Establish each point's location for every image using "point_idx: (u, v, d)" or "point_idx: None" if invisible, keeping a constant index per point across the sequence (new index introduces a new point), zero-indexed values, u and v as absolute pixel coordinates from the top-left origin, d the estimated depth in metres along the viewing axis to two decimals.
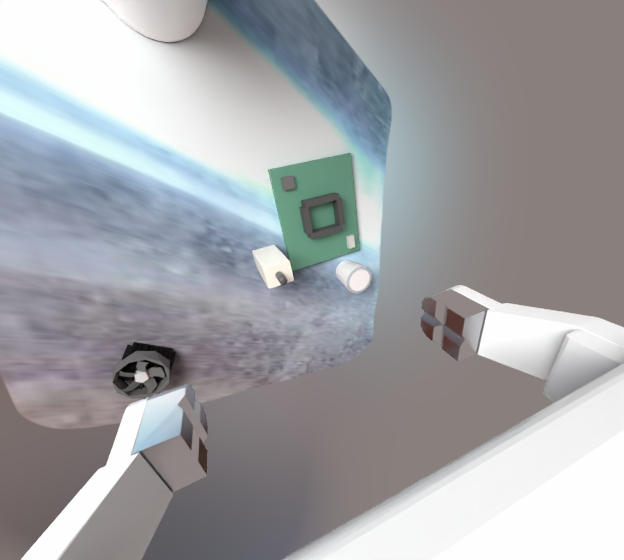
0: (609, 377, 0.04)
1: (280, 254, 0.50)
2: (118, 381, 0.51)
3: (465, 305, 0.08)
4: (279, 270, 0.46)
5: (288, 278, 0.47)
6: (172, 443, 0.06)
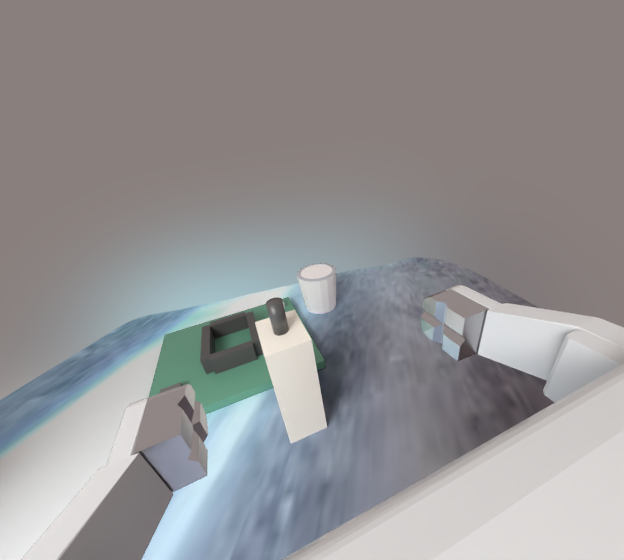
0: (609, 377, 0.04)
1: None
2: None
3: (466, 305, 0.08)
4: (271, 331, 0.22)
5: (289, 316, 0.24)
6: (172, 443, 0.06)
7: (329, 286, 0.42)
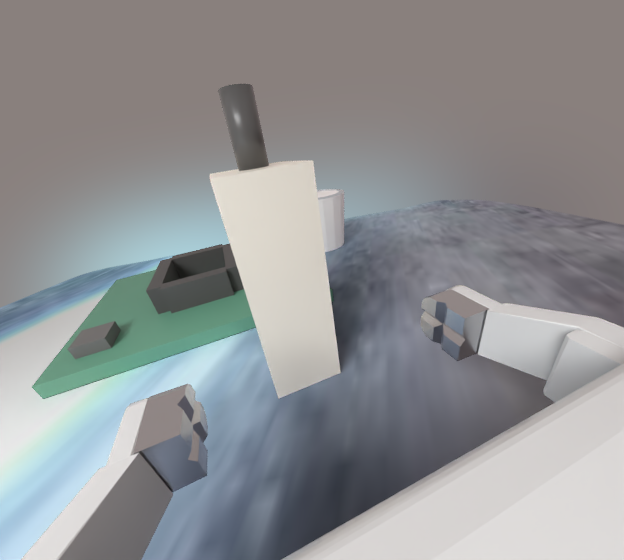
0: (609, 377, 0.04)
1: None
2: None
3: (466, 305, 0.08)
4: (235, 171, 0.12)
5: (272, 163, 0.13)
6: (172, 443, 0.06)
7: (335, 210, 0.31)
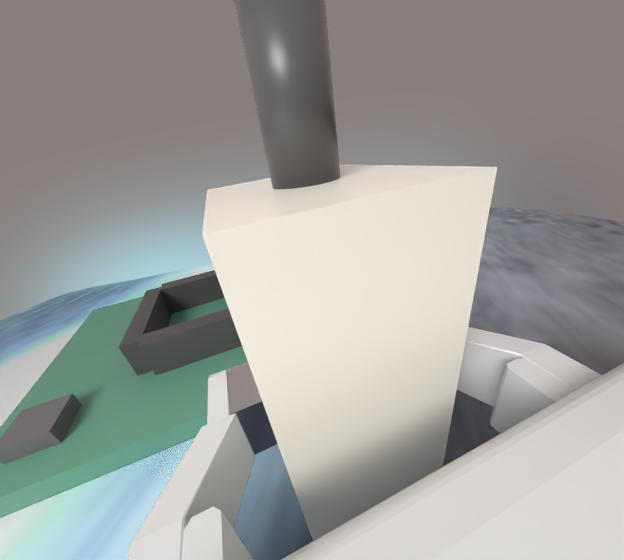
0: (609, 377, 0.04)
1: None
2: None
3: None
4: (263, 188, 0.05)
5: None
6: (261, 406, 0.06)
7: None
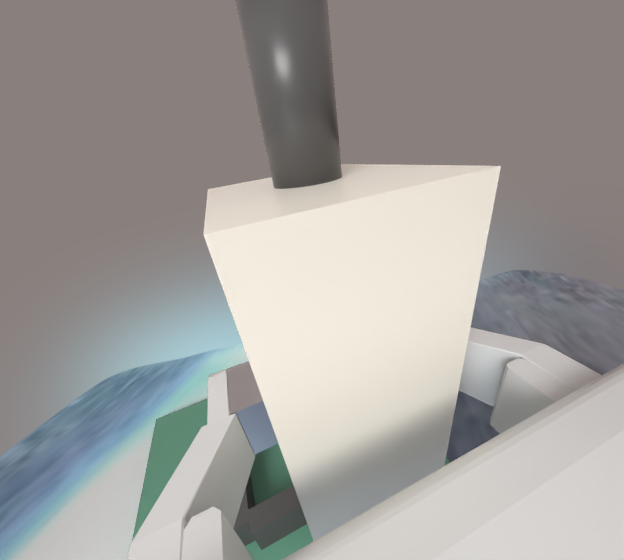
0: (609, 377, 0.04)
1: None
2: None
3: None
4: (264, 187, 0.05)
5: None
6: (261, 406, 0.06)
7: None
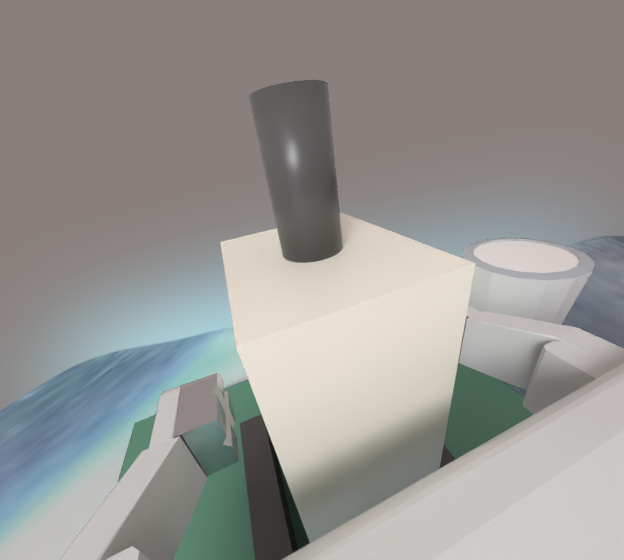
0: (609, 377, 0.04)
1: None
2: None
3: None
4: (274, 255, 0.06)
5: None
6: (210, 428, 0.06)
7: (578, 293, 0.15)
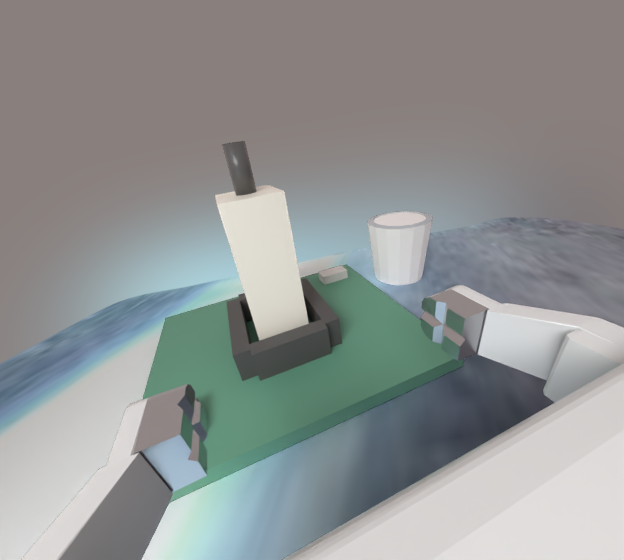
0: (609, 377, 0.04)
1: None
2: None
3: (465, 305, 0.08)
4: (233, 195, 0.17)
5: (260, 187, 0.19)
6: (172, 443, 0.06)
7: (424, 239, 0.26)
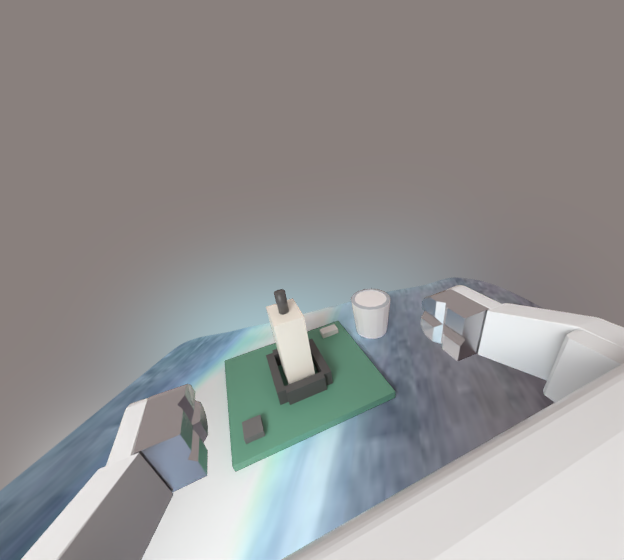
0: (609, 377, 0.04)
1: (273, 334, 0.37)
2: None
3: (466, 305, 0.08)
4: (277, 312, 0.34)
5: (289, 303, 0.35)
6: (172, 443, 0.06)
7: (385, 313, 0.43)
